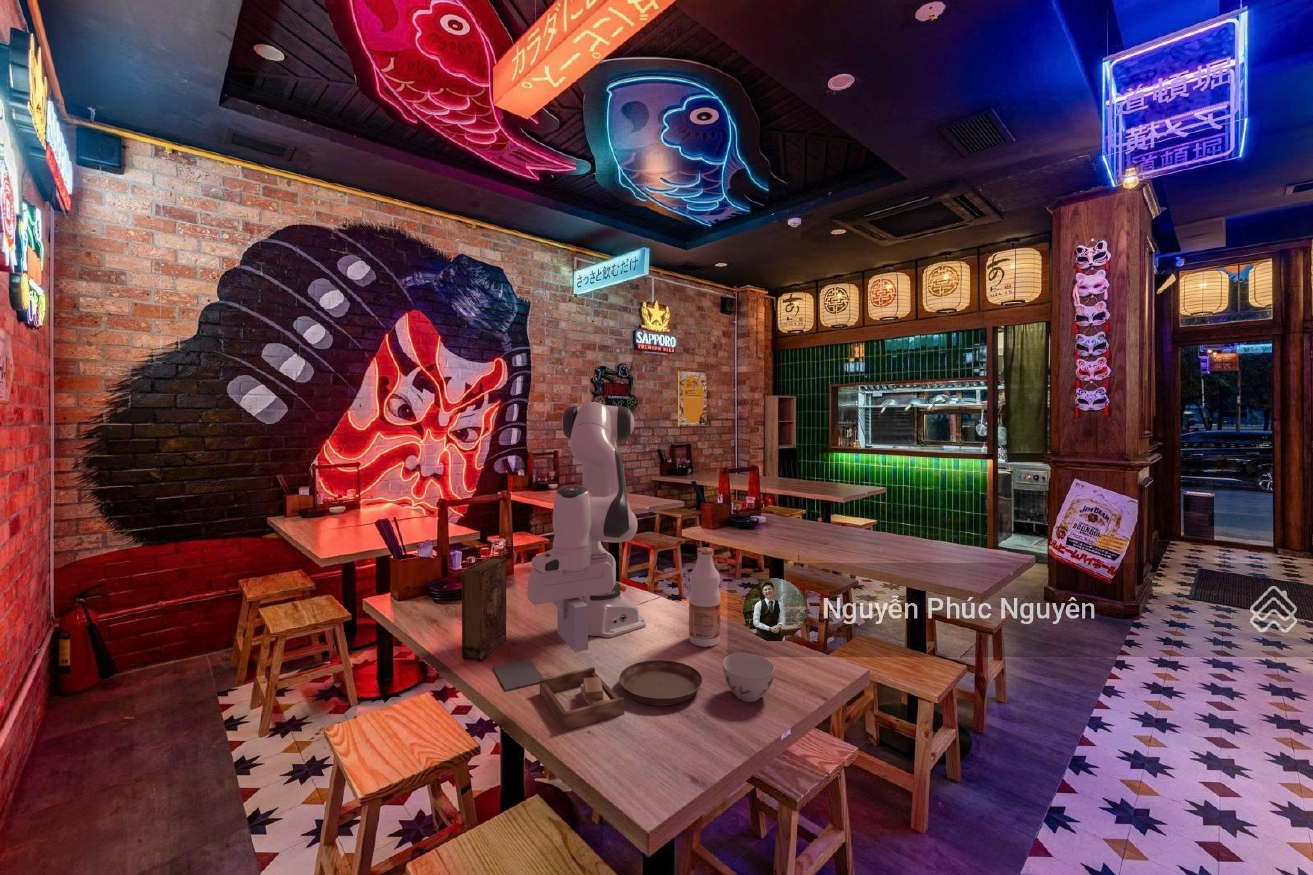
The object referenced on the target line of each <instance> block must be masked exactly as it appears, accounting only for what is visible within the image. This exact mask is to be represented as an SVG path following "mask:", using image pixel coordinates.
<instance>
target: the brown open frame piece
mask: <svg viewBox="0 0 1313 875" xmlns="http://www.w3.org/2000/svg"><path fill="white" fill-rule="evenodd" d="M592 677H600V676H599V675H598V674H597V673H596V668H595V667H594V666H592V667H588V668H582V669H579V670H575V671H570V672H565V673H561V674H557V675H553V676H547V677H543V678H544V679H540V683H539V695H540V696H541V697H542V699H543V701H544V702H545V703H546V705H547V706H548V708H549V709H550V710H551V713H552V714H553V715H554V717H555V718H556V720H557V721H558V723H559V724H560V726H561V727H562V728H563V730H564V731H565V732H566V731H570V730H573V729H575V728H577V729H578V728H580V727H583V726H587V725H591V724H594V723H598V722H600V721H601V722H602V721H605V720H609V719H611V718H615V717H617V716H618V717H619V716H621V715H625V698H624V697H623V696H618V695H617V694H616V693H615V692H614V691H613V689H612V688H611V687H610V686H609V685H608V684H607V683H606V682H605V681H604V680H603V679H602V678H601V683H602V688H603V690H604V692H605V693H606V694H607V696H608V697H609V698H610V700H608V701H604V702H601V703H597V704H593V705H590V706H589V705H586V706H582V707H579V708H576V709H571V710H568V711H567V710H566V708H565V707H564V706H563V705H562V703H561V702H560V701H559V699H558V697H557V696H556V695H555V694H554V693H556V692H560V691H564V690H568V689H572V688H576V687H581V684H584V678H592Z"/></svg>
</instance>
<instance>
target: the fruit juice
mask: <svg viewBox="0 0 1313 875" xmlns="http://www.w3.org/2000/svg"><path fill="white" fill-rule="evenodd" d="M696 550H697V551H696V554H697V560H696V563H695V565H694V568H692V571H691V572H690V575H689V581H690V582H689V583H690V585H691V589H690V590H689V597H688V598H689V599H688V600H689V601H688V603H689V604H688V640H689V642H690V644H692V645H694V646H698V647H703V648H705V647H706V648H707V647H708V646H710V647H714V646H716V645H718V644H719V643H720V641H721V601H722V600H721V592H720V590H719V589H720V588H719V586H720V583H721V577H720V576H721V574H720V572H719V571H718V570H717V569H716V566H715V563H714V559H713V555H714V549H713V548H712V547H705V546H703V547H697V548H696Z"/></svg>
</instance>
